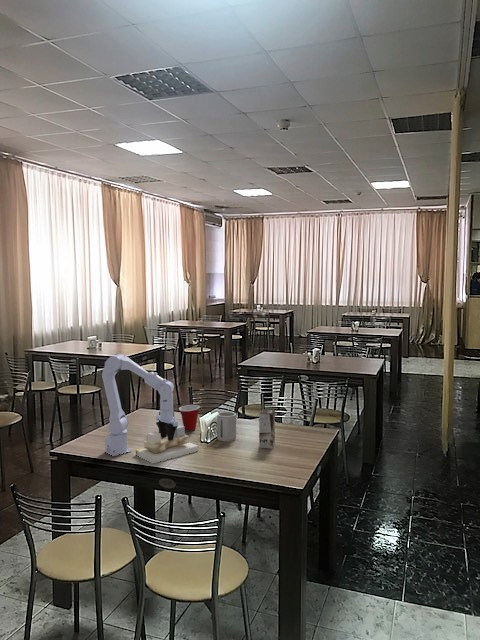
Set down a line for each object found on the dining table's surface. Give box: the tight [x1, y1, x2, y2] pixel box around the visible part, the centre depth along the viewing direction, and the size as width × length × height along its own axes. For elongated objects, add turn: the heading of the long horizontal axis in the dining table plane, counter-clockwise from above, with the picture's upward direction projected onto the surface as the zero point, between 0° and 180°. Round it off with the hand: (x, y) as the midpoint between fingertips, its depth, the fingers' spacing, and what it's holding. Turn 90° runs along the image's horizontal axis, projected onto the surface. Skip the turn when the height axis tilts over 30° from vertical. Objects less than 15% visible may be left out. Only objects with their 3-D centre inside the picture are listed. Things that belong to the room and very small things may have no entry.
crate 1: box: [147, 431, 161, 444], centre depth 229 cm, size 4×4×4 cm
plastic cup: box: [178, 404, 200, 431], centre depth 270 cm, size 11×11×12 cm
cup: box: [216, 411, 237, 442], centre depth 256 cm, size 9×9×12 cm
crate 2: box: [174, 424, 186, 437], centre depth 238 cm, size 4×4×4 cm
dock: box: [135, 441, 199, 464], centre depth 234 cm, size 24×14×2 cm, turn 132°
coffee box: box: [258, 408, 276, 449], centre depth 244 cm, size 9×6×16 cm
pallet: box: [143, 434, 190, 453], centre depth 234 cm, size 18×9×3 cm, turn 132°
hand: (167, 438), depth 234 cm, fingers closed on pallet, 5 cm apart
